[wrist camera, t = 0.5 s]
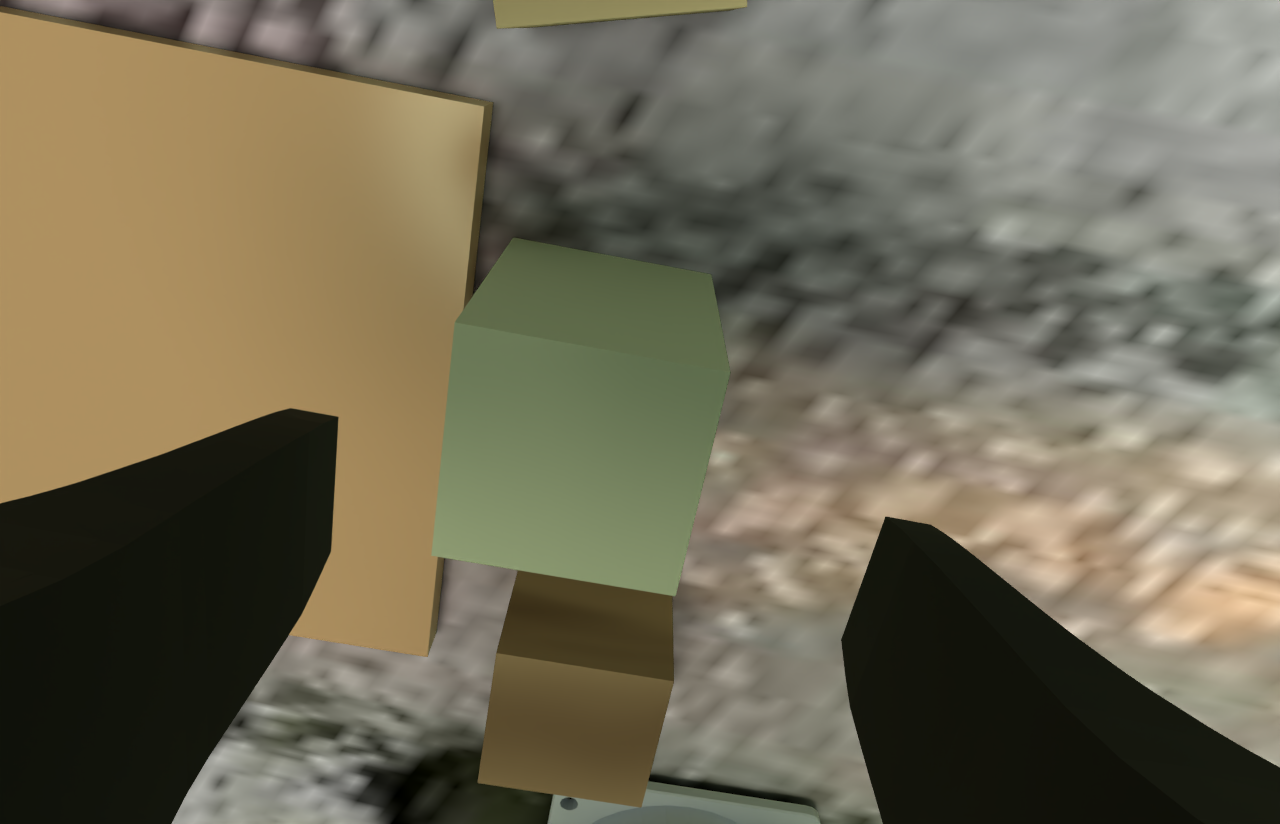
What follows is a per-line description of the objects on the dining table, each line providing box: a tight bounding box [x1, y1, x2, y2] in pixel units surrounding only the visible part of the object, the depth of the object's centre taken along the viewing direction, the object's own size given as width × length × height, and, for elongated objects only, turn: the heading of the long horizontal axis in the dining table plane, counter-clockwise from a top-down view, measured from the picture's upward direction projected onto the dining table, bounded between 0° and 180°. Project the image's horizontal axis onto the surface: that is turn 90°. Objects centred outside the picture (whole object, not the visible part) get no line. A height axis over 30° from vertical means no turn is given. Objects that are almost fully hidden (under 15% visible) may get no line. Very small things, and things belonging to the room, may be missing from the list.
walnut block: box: [478, 570, 674, 808], centre depth 22 cm, size 4×4×4 cm
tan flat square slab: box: [0, 6, 493, 657], centre depth 20 cm, size 14×14×1 cm
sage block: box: [431, 237, 731, 596], centre depth 18 cm, size 4×4×6 cm
